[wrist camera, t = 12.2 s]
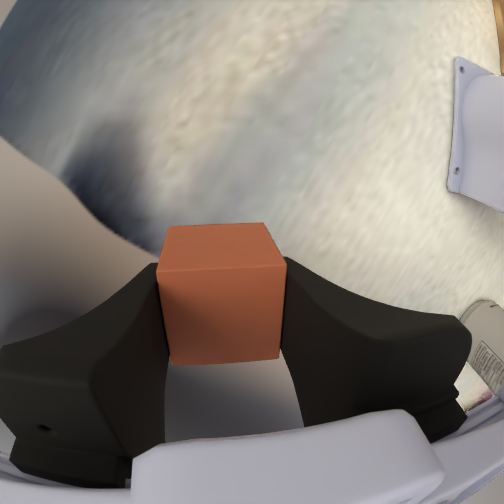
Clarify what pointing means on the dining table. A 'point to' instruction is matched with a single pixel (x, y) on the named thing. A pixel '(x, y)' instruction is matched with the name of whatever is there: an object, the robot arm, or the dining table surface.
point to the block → (221, 293)
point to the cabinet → (500, 28)
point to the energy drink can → (486, 342)
